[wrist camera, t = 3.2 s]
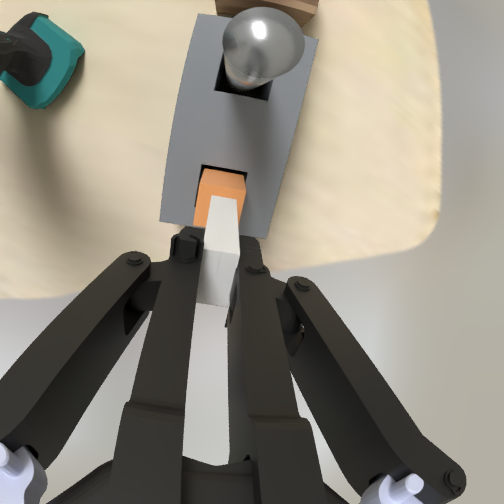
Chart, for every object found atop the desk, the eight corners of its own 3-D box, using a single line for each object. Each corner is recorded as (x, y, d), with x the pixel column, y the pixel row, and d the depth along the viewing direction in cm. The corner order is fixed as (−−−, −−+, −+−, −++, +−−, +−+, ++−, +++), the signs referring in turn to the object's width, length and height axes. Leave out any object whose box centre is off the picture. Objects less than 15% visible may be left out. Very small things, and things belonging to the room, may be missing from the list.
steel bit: (223, 89, 25) (214, 69, 9) (230, 60, 23) (232, 0, 8) (254, 95, 25) (294, 86, 9) (261, 66, 24) (312, 18, 8)
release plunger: (202, 189, 26) (192, 225, 19) (208, 158, 25) (199, 182, 18) (234, 195, 27) (236, 232, 20) (241, 164, 25) (246, 190, 19)
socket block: (173, 194, 29) (159, 221, 23) (205, 33, 21) (198, 13, 15) (258, 208, 31) (265, 239, 25) (297, 52, 23) (318, 39, 17)
